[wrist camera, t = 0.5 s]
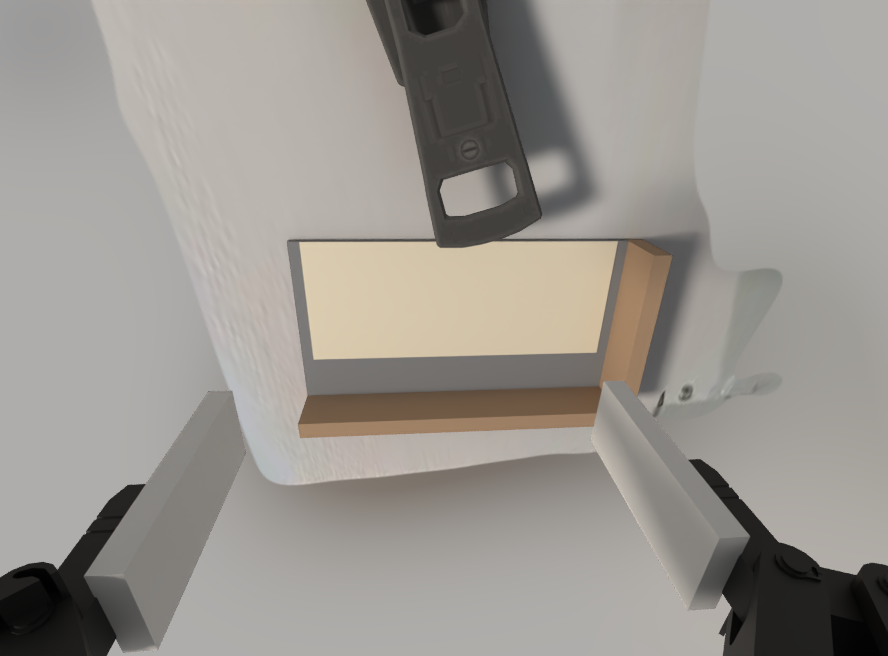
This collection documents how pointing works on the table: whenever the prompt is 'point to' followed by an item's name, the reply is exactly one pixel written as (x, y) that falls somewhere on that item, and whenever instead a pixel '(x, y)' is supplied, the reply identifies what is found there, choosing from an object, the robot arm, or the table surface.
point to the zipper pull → (456, 110)
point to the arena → (470, 331)
